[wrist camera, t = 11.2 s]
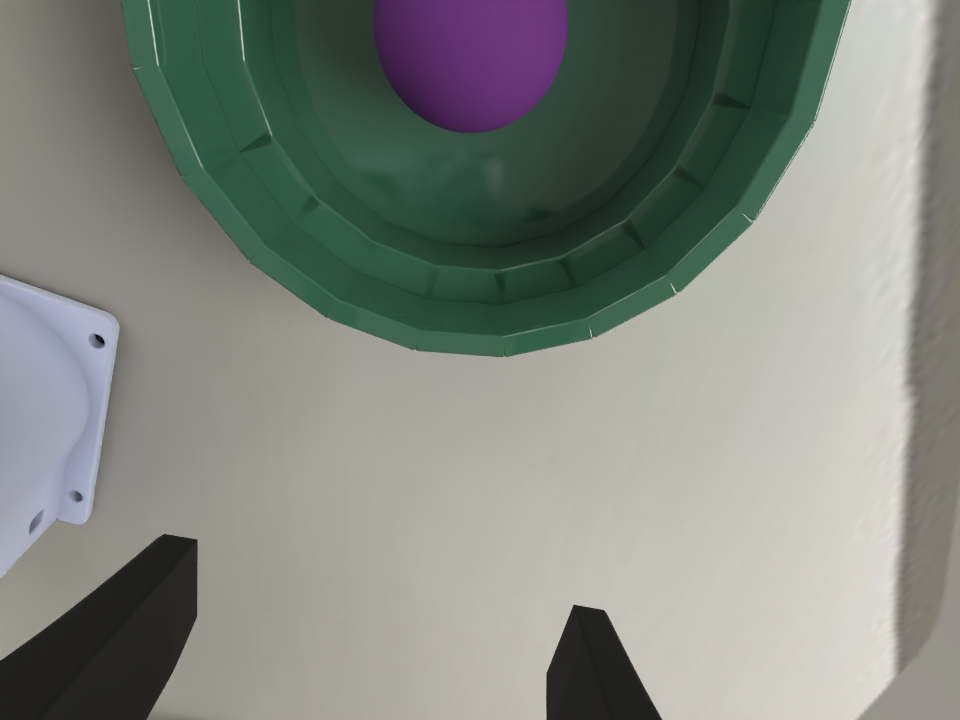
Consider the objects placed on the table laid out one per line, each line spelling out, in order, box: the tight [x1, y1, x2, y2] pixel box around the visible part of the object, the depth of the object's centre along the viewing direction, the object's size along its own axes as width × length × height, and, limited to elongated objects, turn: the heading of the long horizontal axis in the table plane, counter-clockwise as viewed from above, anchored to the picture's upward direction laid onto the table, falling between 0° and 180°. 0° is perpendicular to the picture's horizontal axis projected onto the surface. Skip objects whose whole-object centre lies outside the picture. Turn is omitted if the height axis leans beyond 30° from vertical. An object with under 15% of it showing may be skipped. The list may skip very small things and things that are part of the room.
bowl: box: [121, 0, 851, 357], centre depth 14 cm, size 14×14×5 cm
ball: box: [374, 0, 567, 133], centre depth 14 cm, size 4×4×4 cm
